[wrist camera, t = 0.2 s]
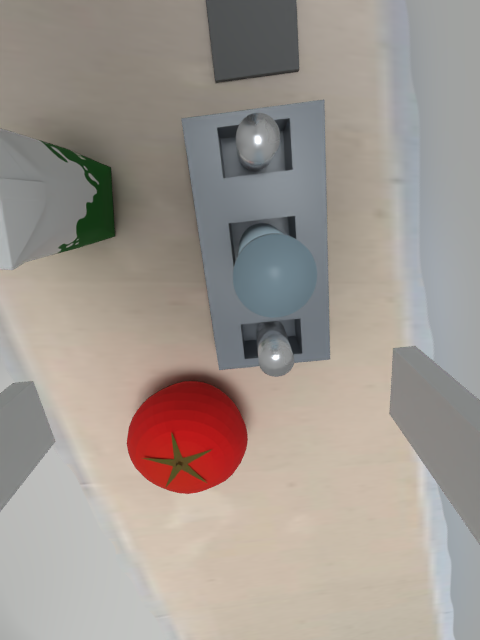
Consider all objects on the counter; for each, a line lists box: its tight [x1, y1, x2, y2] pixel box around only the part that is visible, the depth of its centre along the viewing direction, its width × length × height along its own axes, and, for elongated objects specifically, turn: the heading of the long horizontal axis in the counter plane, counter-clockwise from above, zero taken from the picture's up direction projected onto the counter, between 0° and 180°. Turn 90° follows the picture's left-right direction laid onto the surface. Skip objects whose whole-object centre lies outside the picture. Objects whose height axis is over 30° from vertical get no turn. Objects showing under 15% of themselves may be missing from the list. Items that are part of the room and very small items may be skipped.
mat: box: [206, 0, 299, 83], centre depth 30 cm, size 8×8×1 cm
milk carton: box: [0, 128, 115, 270], centre depth 26 cm, size 9×9×20 cm
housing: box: [182, 100, 330, 370], centre depth 34 cm, size 24×12×6 cm, turn 6°
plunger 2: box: [256, 321, 294, 377], centre depth 33 cm, size 3×3×7 cm
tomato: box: [127, 381, 248, 494], centre depth 40 cm, size 14×13×10 cm
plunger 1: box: [236, 113, 280, 171], centre depth 27 cm, size 3×3×7 cm
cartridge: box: [233, 223, 317, 318], centre depth 28 cm, size 5×5×16 cm
